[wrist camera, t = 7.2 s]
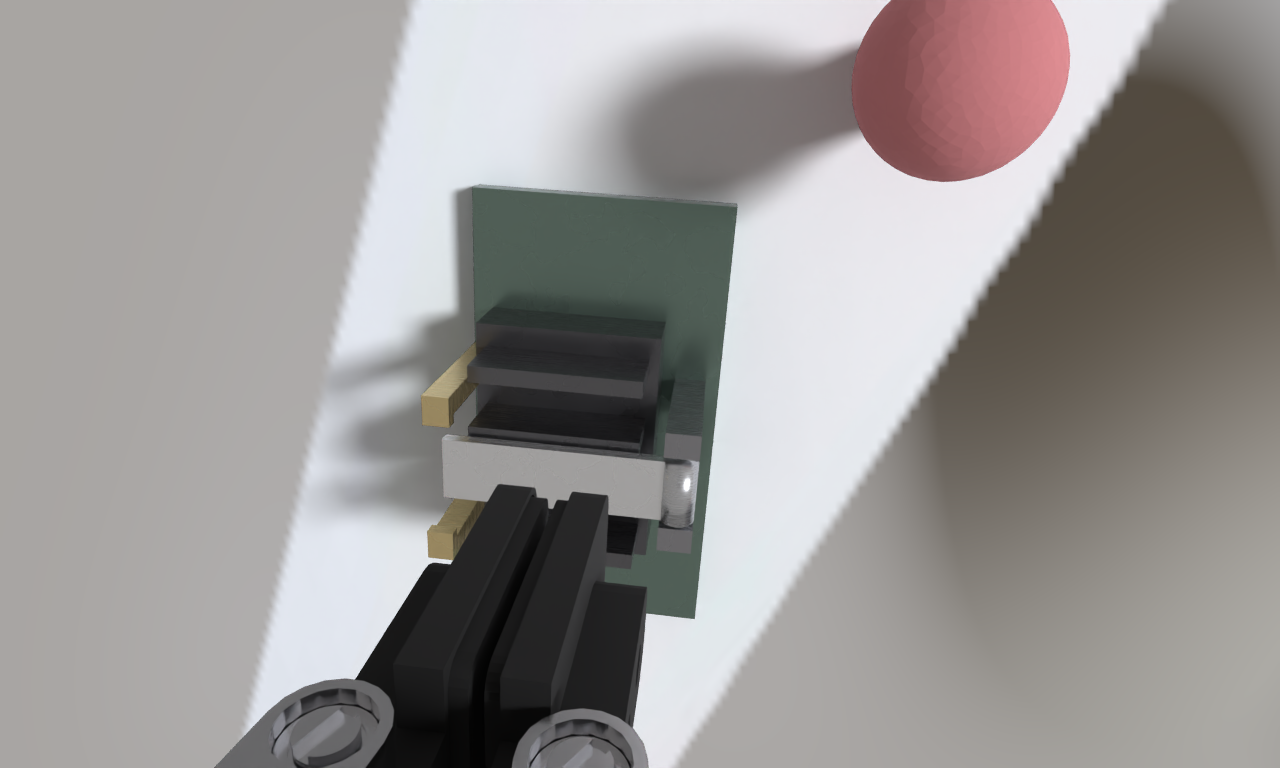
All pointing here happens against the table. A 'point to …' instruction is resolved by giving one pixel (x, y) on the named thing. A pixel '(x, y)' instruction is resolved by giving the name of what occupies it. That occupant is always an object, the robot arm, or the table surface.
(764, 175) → the table surface
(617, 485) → the retention strap
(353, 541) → the table surface
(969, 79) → the light bulb
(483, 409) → the circuit board
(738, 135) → the table surface
